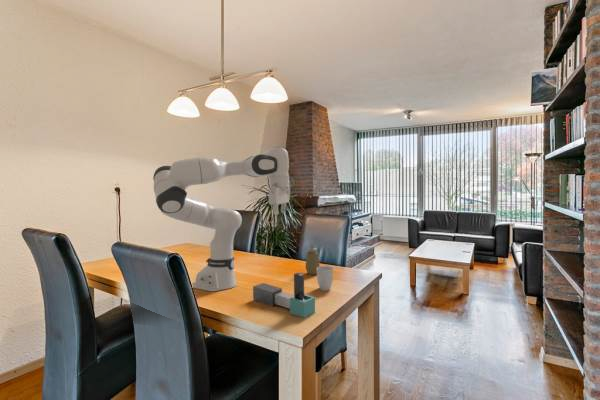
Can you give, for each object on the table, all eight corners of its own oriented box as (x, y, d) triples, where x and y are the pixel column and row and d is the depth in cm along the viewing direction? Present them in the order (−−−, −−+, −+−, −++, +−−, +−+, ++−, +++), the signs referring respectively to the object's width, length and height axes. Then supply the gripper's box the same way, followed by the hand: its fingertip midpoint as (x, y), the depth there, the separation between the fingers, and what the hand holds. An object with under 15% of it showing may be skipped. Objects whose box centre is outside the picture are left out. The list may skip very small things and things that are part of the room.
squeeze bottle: (308, 276, 166) (307, 243, 165) (303, 272, 174) (303, 241, 173) (321, 274, 168) (321, 242, 167) (316, 271, 176) (316, 240, 175)
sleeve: (253, 299, 132) (253, 286, 132) (263, 296, 137) (263, 282, 137) (272, 306, 125) (272, 292, 125) (282, 302, 129) (281, 288, 129)
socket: (289, 313, 118) (289, 298, 118) (300, 307, 123) (300, 293, 123) (304, 318, 114) (304, 302, 113) (314, 312, 119) (314, 297, 118)
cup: (336, 287, 147) (336, 267, 147) (329, 292, 140) (329, 271, 140) (321, 284, 152) (321, 265, 151) (313, 289, 145) (313, 269, 144)
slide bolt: (272, 303, 126) (271, 269, 125) (278, 300, 129) (278, 267, 129) (303, 313, 115) (303, 277, 115) (310, 310, 119) (310, 274, 118)
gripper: (278, 183, 127) (279, 216, 127) (292, 183, 147) (292, 211, 147) (264, 183, 128) (265, 215, 129) (279, 183, 148) (280, 211, 149)
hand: (279, 213), depth 138 cm, fingers open, 8 cm apart
